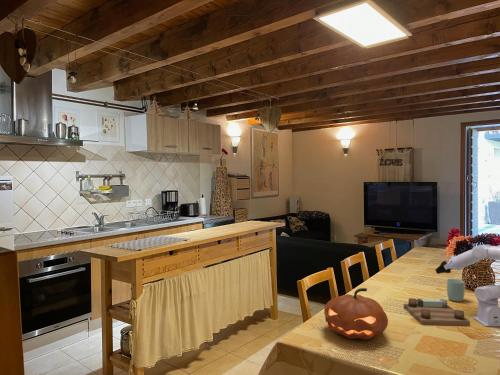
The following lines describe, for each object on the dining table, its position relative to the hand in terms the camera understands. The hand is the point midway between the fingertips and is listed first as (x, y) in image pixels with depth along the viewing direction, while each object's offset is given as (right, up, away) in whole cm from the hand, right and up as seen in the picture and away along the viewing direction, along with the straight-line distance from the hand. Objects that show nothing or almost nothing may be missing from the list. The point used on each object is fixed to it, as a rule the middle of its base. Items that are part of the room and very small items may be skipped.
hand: (441, 270), depth 176 cm
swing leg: (-7, -15, -6) cm, 18 cm away
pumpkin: (-51, -18, -31) cm, 62 cm away
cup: (+11, -17, +8) cm, 22 cm away
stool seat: (-10, -18, -13) cm, 24 cm away
